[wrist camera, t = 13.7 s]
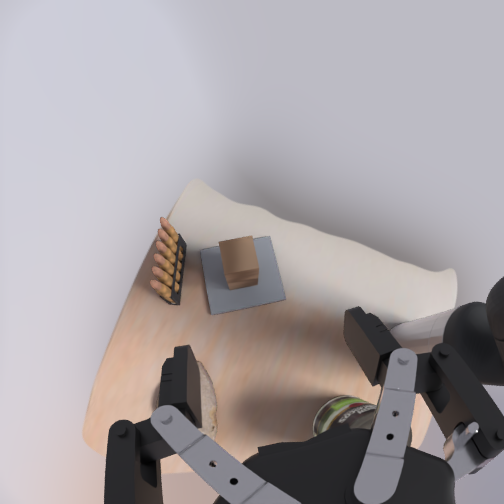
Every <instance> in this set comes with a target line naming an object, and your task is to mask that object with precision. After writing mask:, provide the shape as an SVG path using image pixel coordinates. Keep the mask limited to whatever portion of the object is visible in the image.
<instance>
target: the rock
mask: <svg viewBox="0 0 504 504" xmlns="http://www.w3.org/2000/svg"><path fill="white" fill-rule="evenodd" d="M197 364H198V367H199V371H200V383H201V409H202V428H199V429H198V430H199V431H201V432H202V433H203V434H204V435H205V434H206V435H208V436H209V437H210V438H211V439H212V440H214V441H215V437H216V433H217V420H216V411H217V402H216V395H215V391H214V388H213V383H212V381H211V379H210V376H209V375H208V373H207V371H206V370H205V368H204V367H203V365H202V363H201V362H199V361H197ZM158 403H159V396H158V399H157V403H156V408H158Z"/></svg>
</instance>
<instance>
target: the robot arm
mask: <svg viewBox="0 0 504 504" xmlns="http://www.w3.org/2000/svg"><path fill="white" fill-rule="evenodd" d="M344 338H345V341H346V343H347V345H348V346H349V348H350V350H351V351H352V353H353V355H354V356H355V358H356V360H357V361H358V363H359V365H360V366H361V368H362V370H363V371H364V373H365V375H366V376H367V378H368V380H369V381H370V383H371V385H372V386H375V385H377V384H380V386H381V387H382V388H381V391H380V395H379V399H378V403H377V407H376V410H375V414H374V417H373V421H372V424H371V427H370V429H365V428H350V427H349V424H348V423H346V424H343V425H340V426H338V427H334V428H331V429H328V430H326V431H324V432H322V433H321V434H319V435H317V436H315V437H313V438H311V439H310V440H308V441H305V442H282V443H276V444H272V445H267V446H262V447H258V452H259V453H257V454H254V455H253V456H251V457H249V458H248V459H246V460H245V461H244V462H243V463H242V464H241V463H240V462H239V461H238V460H236V459H235V458H234V457H233V456H231V455H230V454H229V453H228V452H227V451H225V450H224V449H223V448H222V447H221V446H219V445H218V444H217V443H216V442H215V441H214V440H212V439H211V438H210V437H209V436H208V435H206V434H205V435H204V434H203V433H202V432H201V431H199V430H198V429H199V428H202V409H201V383H200V371H199V367H198V364H197V361H196V359H195V357H194V354H193V352H192V349H191V347H190V345H185V346H178V347H175V348H174V357H173V358H167V359H166V361H165V362H164V364H163V366H162V373H161V375H162V376H161V383H160V392H159V403H158V408H157V409H156V410H155V411H154V412H153V413H152V415H151V417H150V418H149V419H147V420H144V421H141V422H138V423H136V424H133V423H132V422H130V421H128V420H119V421H117V422H115V423H114V424H113V425H112V426H111V427H110V429H109V435H108V444H107V455H106V470H105V490H104V504H163V496H162V483H161V465H160V459H162V458H165V457H168V456H171V455H173V454H176V453H177V454H178V455H179V456H180V457H181V458H182V459H183V460H184V461H185V462H186V463H187V464H188V465H189V466H190V467H191V468H192V469H193V470H194V471H195V472H196V473H197V474H198V475H199V476H200V477H201V478H202V479H203V480H204V481H205V482H206V483H207V484H209V485H210V486H211V487H212V488H213V489H214V490H215V491H216V492H217V493H219V494H220V495H219V496H218V498H217V499H216V500H215V502H214V503H213V504H456V503H455V496H454V487H455V482H456V481H458V480H459V479H461V478H463V477H464V476H466V475H467V474H474V473H476V472H478V471H479V470H480V469H482V468H483V467H484V466H485V465H487V464H488V463H489V462H490V461H491V460H493V459H494V458H495V457H496V456H497V455H498V454H499V453H500V452H502V451H503V450H504V416H503V414H502V413H501V411H500V410H499V408H498V407H497V405H496V404H495V402H494V401H493V400H492V398H491V397H490V395H489V394H488V392H487V391H486V390H485V388H484V387H483V385H482V384H484V385H496V386H504V277H503V278H501V279H500V280H499V281H498V282H497V283H496V284H495V285H494V287H493V288H492V289H491V291H490V293H489V295H488V297H487V300H486V304H485V303H482V302H472V303H468V304H465V305H462V306H460V307H457V308H454V309H451V310H448V311H445V312H442V313H438V314H435V315H431V316H428V317H425V318H421V319H417V320H414V321H410V322H406V323H402V324H399V325H397V326H395V327H394V328H392V329H391V330H390V331H389V330H387V328H386V327H385V325H383V323H382V322H381V320H380V319H379V318H378V317H376V316H375V315H373V314H371V313H368V314H366V313H365V312H364V311H363V310H362V308H361V307H359V306H358V307H355V308H352V309H348V310H346V311H345V319H344ZM418 393H420V394H421V395H422V397H423V399H424V401H425V402H426V404H427V406H428V407H429V409H430V411H431V413H432V414H433V416H434V418H435V420H436V421H437V423H438V425H439V427H440V429H441V431H442V432H443V434H444V436H445V438H446V441H445V443H444V447H443V449H444V454H445V460H443V459H441V458H439V457H436V456H433V455H431V454H428V453H425V452H423V451H420V450H418V449H415V448H413V447H410V446H408V445H407V441H408V436H409V431H410V426H411V421H412V416H413V410H414V403H415V397H416V394H418Z"/></svg>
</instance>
